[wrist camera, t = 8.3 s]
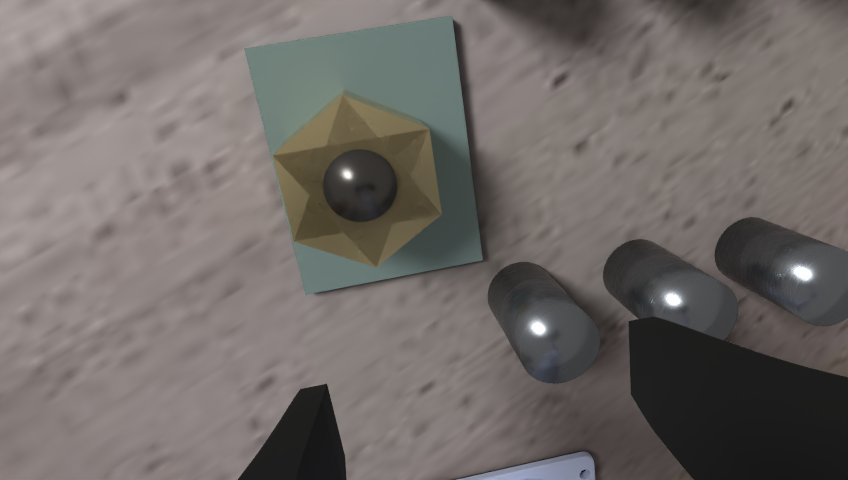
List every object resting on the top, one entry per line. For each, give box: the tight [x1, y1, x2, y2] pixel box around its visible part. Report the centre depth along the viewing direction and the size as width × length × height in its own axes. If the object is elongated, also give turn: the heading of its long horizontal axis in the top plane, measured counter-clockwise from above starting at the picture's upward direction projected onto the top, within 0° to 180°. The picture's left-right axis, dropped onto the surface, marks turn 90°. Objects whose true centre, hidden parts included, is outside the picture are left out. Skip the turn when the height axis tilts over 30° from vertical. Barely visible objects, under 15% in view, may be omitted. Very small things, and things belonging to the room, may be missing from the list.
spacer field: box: [488, 217, 848, 383], centre depth 19 cm, size 16×13×4 cm
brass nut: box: [273, 90, 442, 267], centre depth 18 cm, size 5×5×4 cm
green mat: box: [245, 16, 483, 295], centre depth 20 cm, size 9×7×1 cm
